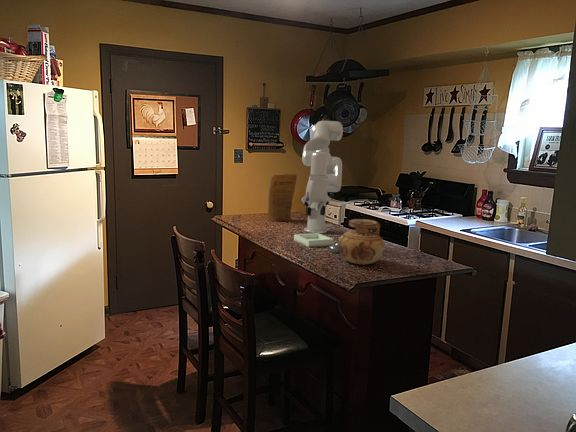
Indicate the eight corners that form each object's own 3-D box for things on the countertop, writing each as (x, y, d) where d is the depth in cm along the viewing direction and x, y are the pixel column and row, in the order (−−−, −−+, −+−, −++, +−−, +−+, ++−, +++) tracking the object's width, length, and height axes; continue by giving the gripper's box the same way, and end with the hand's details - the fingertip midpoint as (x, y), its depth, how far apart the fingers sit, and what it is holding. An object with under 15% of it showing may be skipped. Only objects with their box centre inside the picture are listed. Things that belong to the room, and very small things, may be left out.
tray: (318, 238, 244) (318, 233, 244) (333, 245, 232) (333, 239, 232) (293, 240, 237) (294, 234, 237) (308, 247, 225) (308, 240, 225)
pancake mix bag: (296, 221, 290) (299, 174, 285) (268, 222, 281) (271, 174, 276) (291, 219, 296) (294, 173, 291) (263, 220, 286) (266, 173, 282)
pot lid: (339, 248, 225) (340, 241, 225) (349, 253, 219) (350, 245, 218) (325, 249, 222) (326, 242, 221) (335, 254, 215) (335, 246, 214)
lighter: (309, 219, 230) (310, 202, 229) (307, 218, 232) (308, 202, 230) (322, 218, 233) (323, 202, 232) (320, 218, 235) (321, 202, 233)
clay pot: (355, 263, 189) (349, 214, 193) (333, 269, 206) (327, 223, 209) (395, 260, 197) (388, 213, 200) (371, 266, 214) (364, 221, 217)
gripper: (328, 177, 237) (326, 213, 240) (298, 177, 228) (295, 214, 231) (337, 179, 230) (334, 216, 233) (306, 179, 222) (303, 217, 225)
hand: (315, 214), depth 232 cm, fingers closed on lighter, 7 cm apart
